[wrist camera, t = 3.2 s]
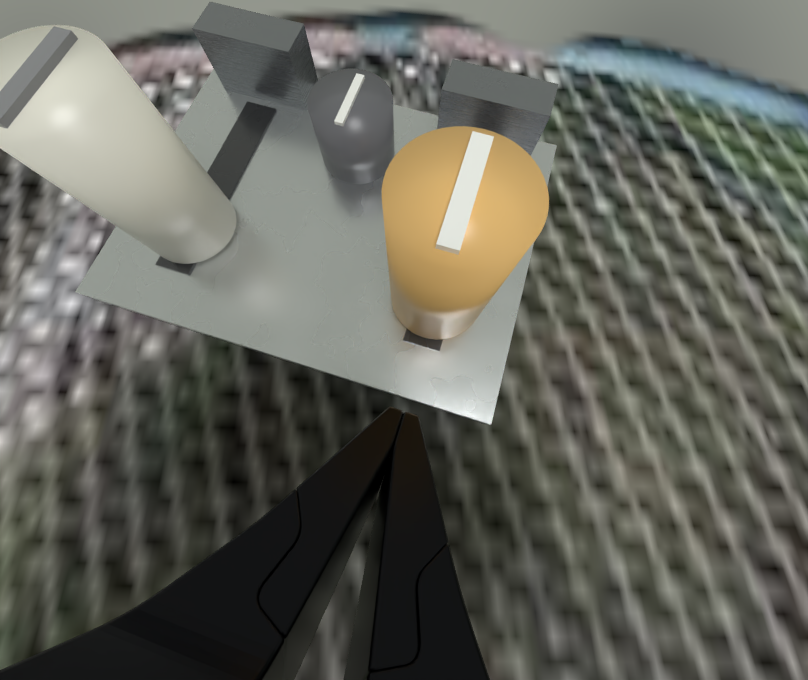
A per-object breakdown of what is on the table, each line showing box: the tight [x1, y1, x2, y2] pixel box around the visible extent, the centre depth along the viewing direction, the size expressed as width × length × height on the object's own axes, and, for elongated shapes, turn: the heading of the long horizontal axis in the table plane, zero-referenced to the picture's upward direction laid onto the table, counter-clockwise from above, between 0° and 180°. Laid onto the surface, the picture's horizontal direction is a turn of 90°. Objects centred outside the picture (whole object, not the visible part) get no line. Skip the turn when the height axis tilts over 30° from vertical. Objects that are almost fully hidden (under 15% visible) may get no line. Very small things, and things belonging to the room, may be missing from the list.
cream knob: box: [0, 25, 236, 264], centre depth 12 cm, size 4×4×7 cm
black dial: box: [307, 69, 395, 184], centre depth 16 cm, size 4×4×3 cm
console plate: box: [76, 2, 558, 425], centre depth 15 cm, size 16×21×4 cm
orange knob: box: [382, 126, 549, 340], centre depth 11 cm, size 4×4×7 cm
